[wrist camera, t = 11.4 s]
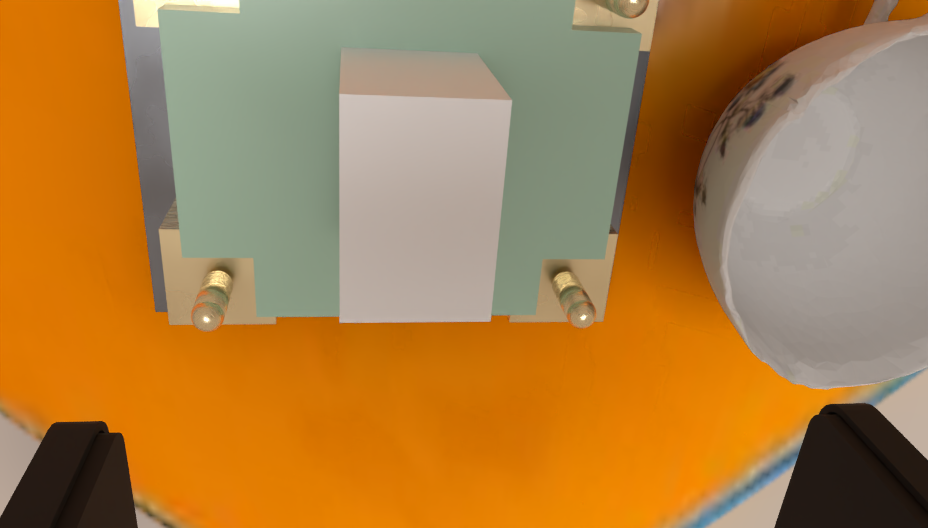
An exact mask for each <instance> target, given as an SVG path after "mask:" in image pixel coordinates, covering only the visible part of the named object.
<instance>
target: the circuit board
mask: <svg viewBox="0 0 928 528" xmlns="http://www.w3.org/2000/svg"><path fill="white" fill-rule="evenodd" d="M574 8H575V0H239V8H232V7H212V6H193V5H173V4H164V5H163V6H161V7H160V8H158V9H157V13H158V23H159V33H160V43H161V53H162V62H163V72H164V82H165V92H166V102H167V112H168V122H169V132H170V142H171V152H172V162H173V172H174V181H175V191H176V201H177V211H178V221H179V231H180V241H181V251H182V258H253V261H254V279H255V297H256V315H257V317H333V316H340V323H381V322H491V315H536V308H537V300H538V292H539V284H540V276H541V269H542V261H543V259H605V254H606V248H607V242H608V236H609V230H610V224H611V218H612V212H613V206H614V200H615V194H616V188H617V182H618V175H619V169H620V163H621V157H622V151H623V145H624V139H625V133H626V127H627V121H628V115H629V109H630V103H631V97H632V91H633V85H634V79H635V73H636V67H637V61H638V55H639V49H640V43H641V37H642V33H640V32H638V31H636V30H634V29H632V28H621V27H602V26H582V25H572V24H573V16H574Z"/></svg>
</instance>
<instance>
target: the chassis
mask: <svg viewBox="0 0 928 528" xmlns="http://www.w3.org/2000/svg"><path fill="white" fill-rule="evenodd" d="M118 1H119V10H120V18H121V26H122V35H123V43H124V51H125V60H126V68H127V77H128V85H129V93H130V102H131V110H132V118H133V127H134V135H135V143H136V152H137V160H138V168H139V177H140V185H141V193H142V202H143V210H144V218H145V227H146V235H147V243H148V252H149V260H150V269H151V277H152V285H153V294H154V302H155V310H156V312H168V317H169V325H194V326H195V327H196V328H197V329H199V330H201V331H204V332H210V331H214V330H216V329H218V328H219V327H220V326H221V325H222V324H276V322H277V317H257V315H256V297H255V279H254V261H253V258H182V251H181V241H180V231H179V221H178V211H177V201H176V191H175V181H174V172H173V162H172V152H171V142H170V132H169V122H168V112H167V102H166V92H165V82H164V72H163V62H162V53H161V43H160V33H159V23H158V13H157V9H158V8H160V7H161V6H163V5H164V4H173V5H193V6H212V7H232V8H239V0H118ZM658 2H659V0H575V8H574V16H573V24H572V25H582V26H602V27H621V28H632V29H634V30H636V31H638V32H640V33H642V37H641V43H640V49H639V55H638V61H637V67H636V73H635V79H634V85H633V91H632V97H631V103H630V109H629V115H628V121H627V127H626V133H625V139H624V145H623V151H622V157H621V163H620V169H619V175H618V182H617V188H616V194H615V200H614V206H613V212H612V218H611V224H610V230H609V236H608V242H607V248H606V254H605V259H543V261H542V269H541V276H540V284H539V292H538V300H537V308H536V315H507V317H508V320H509V322H569V323H570V324H571V325H572V326H574V327H576V328H587V327H589V326H591V325H592V324H593V322H603V319H604V313H605V308H606V302H607V296H608V291H609V285H610V279H611V273H612V267H613V262H614V256H615V250H616V244H617V239H618V233H619V227H620V221H621V216H622V210H623V204H624V198H625V193H626V187H627V181H628V175H629V169H630V164H631V158H632V152H633V146H634V141H635V135H636V129H637V123H638V118H639V112H640V106H641V100H642V95H643V89H644V83H645V77H646V71H647V66H648V60H649V54H650V48H651V43H652V37H653V31H654V25H655V20H656V14H657V8H658Z"/></svg>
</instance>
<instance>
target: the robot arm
mask: <svg viewBox="0 0 928 528" xmlns="http://www.w3.org/2000/svg"><path fill="white" fill-rule="evenodd" d="M0 528H138V527H137V520H136V514H135V507H134V501H133V494H132V488H131V481H130V475H129V468H128V462H127V455H126V449H125V442H124V438H123V435H122V434H121V433H109V430H108V427H107V425H106V423H105V422H103V421H92V422H56V423H54V424H52V425H51V427H50V428H49V429H48V431H47V433H46V435H45V437H44V438H43V440H42V442H41V444H40V446H39V448H38V450H37V451H36V453H35V455H34V457H33V459H32V460H31V462H30V464H29V466H28V468H27V470H26V471H25V473H24V475H23V477H22V479H21V480H20V482H19V484H18V486H17V488H16V490H15V491H14V493H13V495H12V497H11V499H10V501H9V502H8V504H7V506H6V508H5V510H4V512H3V514H2V515H1V517H0ZM775 528H928V460H927V459H926V458H925V457H924V456H923V455H922V454H921V453H920V452H919V451H918V450H917V449H916V448H915V447H914V446H913V445H912V444H911V443H910V442H909V441H908V440H907V439H906V438H905V437H904V436H903V435H902V434H901V433H900V432H899V431H898V430H897V429H896V428H895V427H894V426H893V425H892V424H891V423H890V422H889V421H888V420H887V419H886V418H885V417H884V416H883V415H882V414H881V413H880V412H879V411H878V410H877V409H876V408H875V407H873V406H872V405H870V404H866V403H856V404H830V405H826V406H825V407H824V408H822V409H821V411H820V413H819V415H815V416H814V417H813V418H812V419H811V420H810V422H809V425H808V428H807V431H806V434H805V437H804V440H803V443H802V446H801V449H800V452H799V455H798V458H797V461H796V464H795V467H794V470H793V473H792V476H791V479H790V482H789V486H788V489H787V491H786V494H785V497H784V500H783V503H782V506H781V509H780V512H779V515H778V518H777V521H776V525H775Z"/></svg>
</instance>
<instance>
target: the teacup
mask: <svg viewBox="0 0 928 528" xmlns="http://www.w3.org/2000/svg"><path fill="white" fill-rule="evenodd" d="M898 1H899V0H875V1H874V3H873V6H872V8H871V10H870V12H869V14H868V16H867V18H866V20H865V22H864V24H863V25H862V26H858V27H854V28H850V29H846V30H843V31H840V32H837V33H834V34H831V35H828V36H825V37H823V38H820V39H818V40H816V41H813V42H811V43H808V44H806V45H804V46H802V47H800V48H798V49H796V50H794V51H792V52H790V53H789V54H787V55H786V56H784V57H782V58H781V59H779V60H778V61H776V62H774V63H773V64H771V65H770V66H768V67H767V68H766V69H765V70H763V71H762V72H761V73H760V74H758V75H757V76H756V77H755V78H754V79H753V80H751V81H750V82H749V83H748V84H747V85H746V86H745V87H744V88H743V89H742V90H741V91H740V92H739V93H738V94H737V95H736V96H735V97H734V98H733V99H732V101H731V102H730V103H729V105H728V106H727V108H726V109H725V111H724V112H723V114H722V115H721V117H720V119H719V120H718V122H717V124H716V125H715V127H714V129H713V131H712V133H711V135H710V136H709V139H708V141H707V144H706V146H705V149H704V151H703V154H702V157H701V160H700V164H699V168H698V171H697V175H696V180H695V187H694V203H693V210H694V227H695V234H696V240H697V245H698V249H699V252H700V256H701V259H702V263H703V266H704V269H705V272H706V275H707V277H708V280H709V282H710V285H711V287H712V289H713V291H714V293H715V295H716V297H717V299H718V301H719V303H720V305H721V307H722V308H723V310H724V312H725V313H726V315H727V316H728V318H729V319H730V321H731V322H732V324H733V325H734V327H735V328H736V330H737V331H738V333H739V334H740V336H741V337H742V339H743V340H744V342H745V343H746V345H747V346H748V347H749V349H750V350H751V351H752V353H754V354H755V355H756V356H757V357H758V358H759V359H760V360H761V361H763V362H765V363H767V364H768V365H769V366H770V367H771V368H773V369H774V370H775V371H776V372H777V373H778V374H779V375H780V376H782V377H784V378H786V379H788V380H789V381H790V382H791V383H793V384H801V385H805V386H807V387H809V388H817V389H830V388H836V387H851V386H860V385H869V384H877V383H881V382H885V381H888V380H891V379H894V378H897V377H902V376H907V375H910V374H912V373H915V372H917V371H919V370H922V369H924V368H926V367H928V13H927V14H925V15H923V16H921V17H918V18H915V19H909V20H896V21H888V16H889V15H890V13H891V12H892V10H893V9H894V8H895V7H896V5H897V3H898Z"/></svg>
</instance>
